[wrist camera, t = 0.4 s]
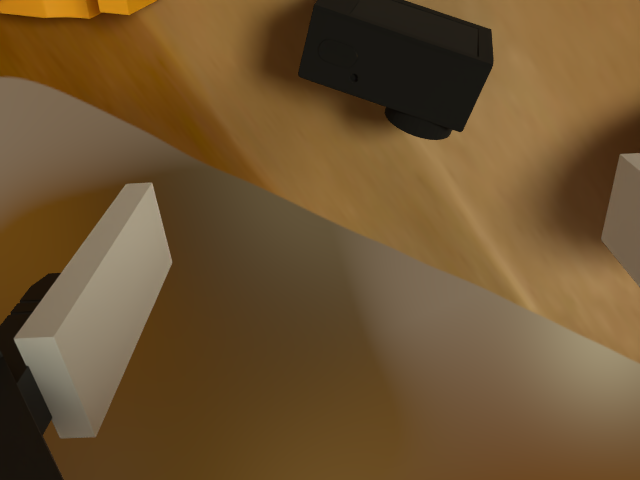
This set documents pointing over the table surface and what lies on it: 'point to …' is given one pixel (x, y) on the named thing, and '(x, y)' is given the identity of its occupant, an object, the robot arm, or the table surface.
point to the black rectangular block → (400, 61)
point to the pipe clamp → (71, 7)
